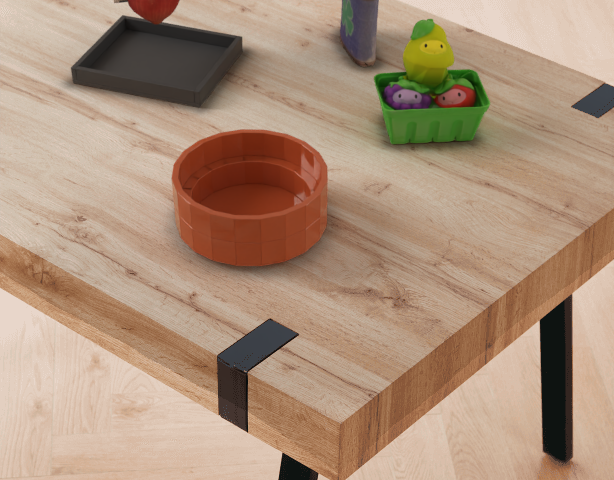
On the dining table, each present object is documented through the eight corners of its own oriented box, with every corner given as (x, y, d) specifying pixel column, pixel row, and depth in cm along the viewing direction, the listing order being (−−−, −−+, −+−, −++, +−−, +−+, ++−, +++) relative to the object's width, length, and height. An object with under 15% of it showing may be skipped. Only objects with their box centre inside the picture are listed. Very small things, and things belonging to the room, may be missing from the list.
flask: (378, 66, 126) (383, -20, 119) (354, 69, 126) (357, -18, 118) (357, 29, 133) (360, -55, 126) (334, 31, 132) (336, -53, 125)
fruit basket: (381, 152, 113) (387, 56, 105) (368, 107, 119) (373, 13, 112) (486, 147, 115) (499, 52, 107) (468, 103, 121) (480, 11, 114)
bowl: (152, 252, 99) (146, 200, 95) (210, 168, 109) (207, 118, 105) (299, 285, 97) (299, 232, 93) (344, 195, 107) (346, 145, 103)
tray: (72, 83, 120) (70, 67, 119) (124, 29, 130) (122, 14, 128) (200, 108, 118) (199, 92, 116) (242, 51, 127) (242, 36, 126)
